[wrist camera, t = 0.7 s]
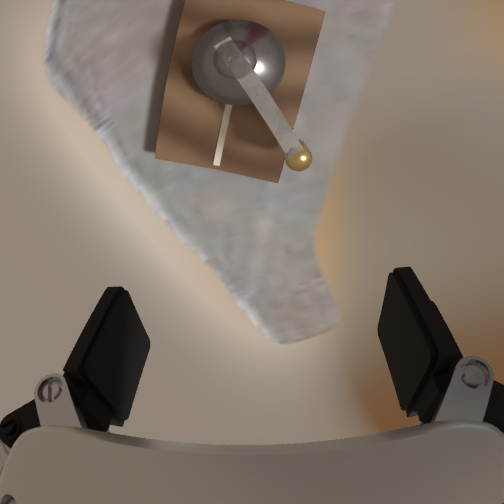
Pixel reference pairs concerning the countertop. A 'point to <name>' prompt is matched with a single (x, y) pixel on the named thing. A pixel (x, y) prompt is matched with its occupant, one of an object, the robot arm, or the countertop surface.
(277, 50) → the dial
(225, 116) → the walnut board
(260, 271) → the countertop surface
